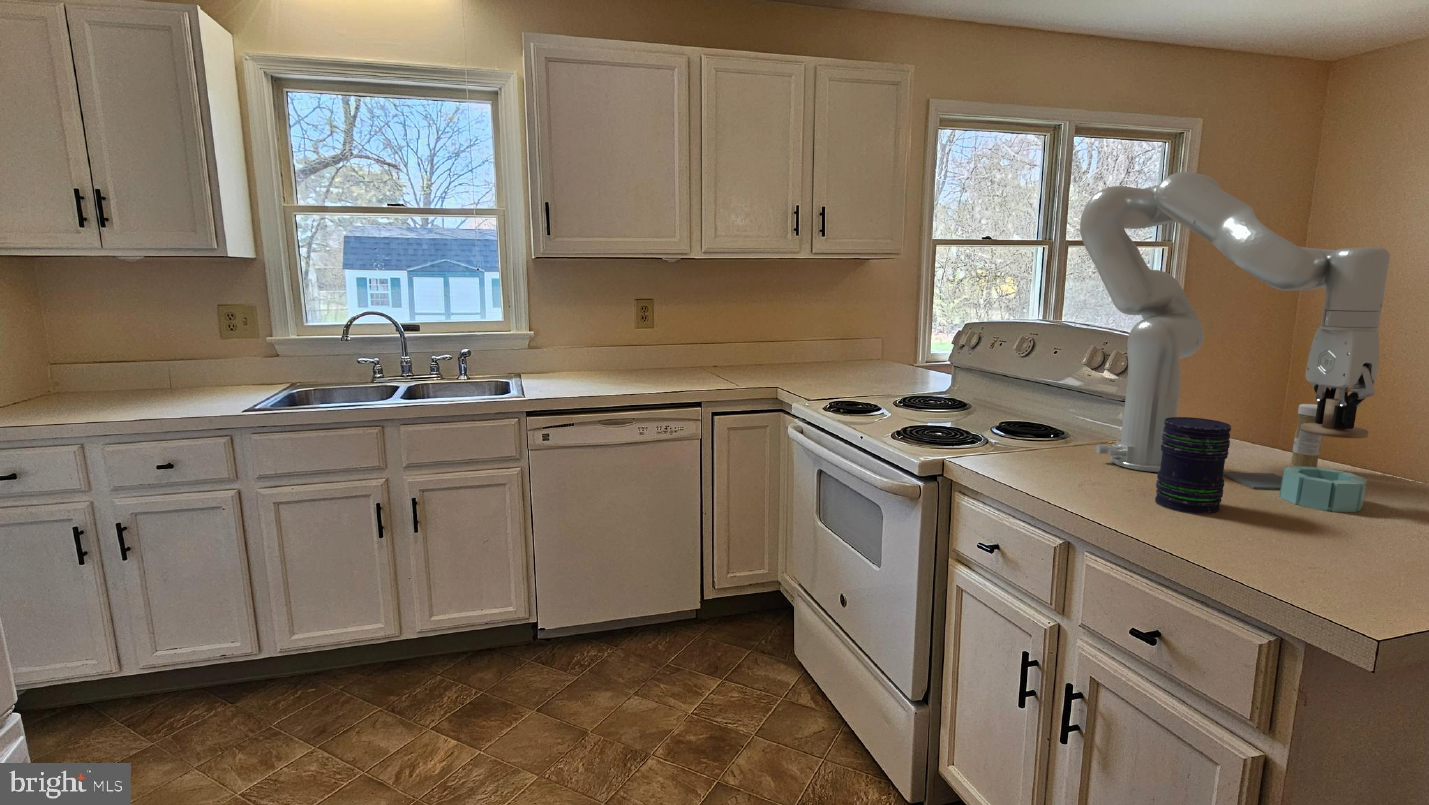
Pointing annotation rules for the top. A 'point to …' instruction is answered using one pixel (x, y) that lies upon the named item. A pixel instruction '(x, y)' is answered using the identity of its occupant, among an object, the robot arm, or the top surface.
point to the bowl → (1323, 489)
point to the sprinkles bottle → (1306, 439)
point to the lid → (1327, 427)
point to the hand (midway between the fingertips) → (1333, 425)
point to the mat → (1256, 480)
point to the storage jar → (1192, 465)
